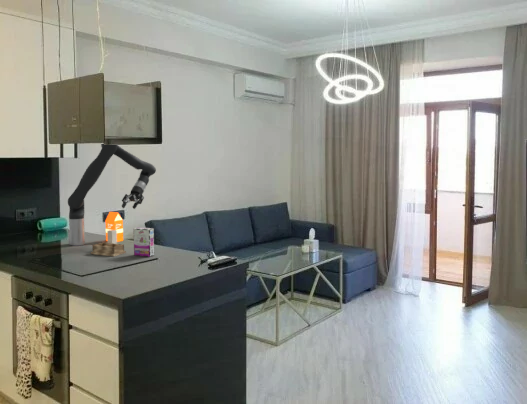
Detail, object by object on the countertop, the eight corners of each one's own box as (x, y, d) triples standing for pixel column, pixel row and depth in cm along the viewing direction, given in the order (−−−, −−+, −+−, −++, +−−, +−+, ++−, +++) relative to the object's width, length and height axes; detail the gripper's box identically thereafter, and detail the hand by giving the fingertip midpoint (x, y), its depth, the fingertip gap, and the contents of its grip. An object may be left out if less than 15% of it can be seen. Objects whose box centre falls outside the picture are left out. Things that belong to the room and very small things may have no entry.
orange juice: (114, 242, 326) (113, 213, 323) (105, 241, 330) (104, 212, 328) (123, 240, 332) (122, 211, 330) (114, 239, 337) (114, 211, 335)
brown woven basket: (90, 253, 289) (90, 245, 289) (103, 250, 300) (103, 242, 299) (113, 256, 283) (113, 247, 282) (125, 252, 293) (125, 244, 293)
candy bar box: (154, 255, 287) (154, 228, 285) (150, 257, 282) (149, 229, 280) (138, 253, 291) (137, 227, 289) (133, 255, 286) (133, 228, 284)
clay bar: (107, 249, 302) (107, 230, 301) (112, 248, 306) (112, 229, 305) (112, 250, 301) (111, 231, 300) (117, 248, 305) (116, 230, 304)
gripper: (127, 184, 323) (116, 203, 313) (145, 185, 317) (134, 204, 308) (132, 192, 328) (121, 210, 319) (149, 192, 323) (139, 211, 313)
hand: (128, 207), depth 313 cm, fingers open, 8 cm apart
